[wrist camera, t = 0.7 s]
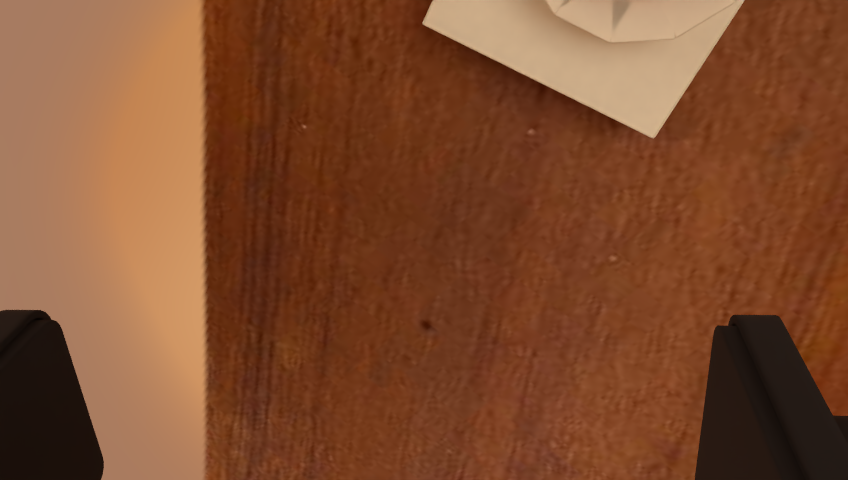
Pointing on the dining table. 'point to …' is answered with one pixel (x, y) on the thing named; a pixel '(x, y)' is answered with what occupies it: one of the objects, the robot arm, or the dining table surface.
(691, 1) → the switch block
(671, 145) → the dining table surface
